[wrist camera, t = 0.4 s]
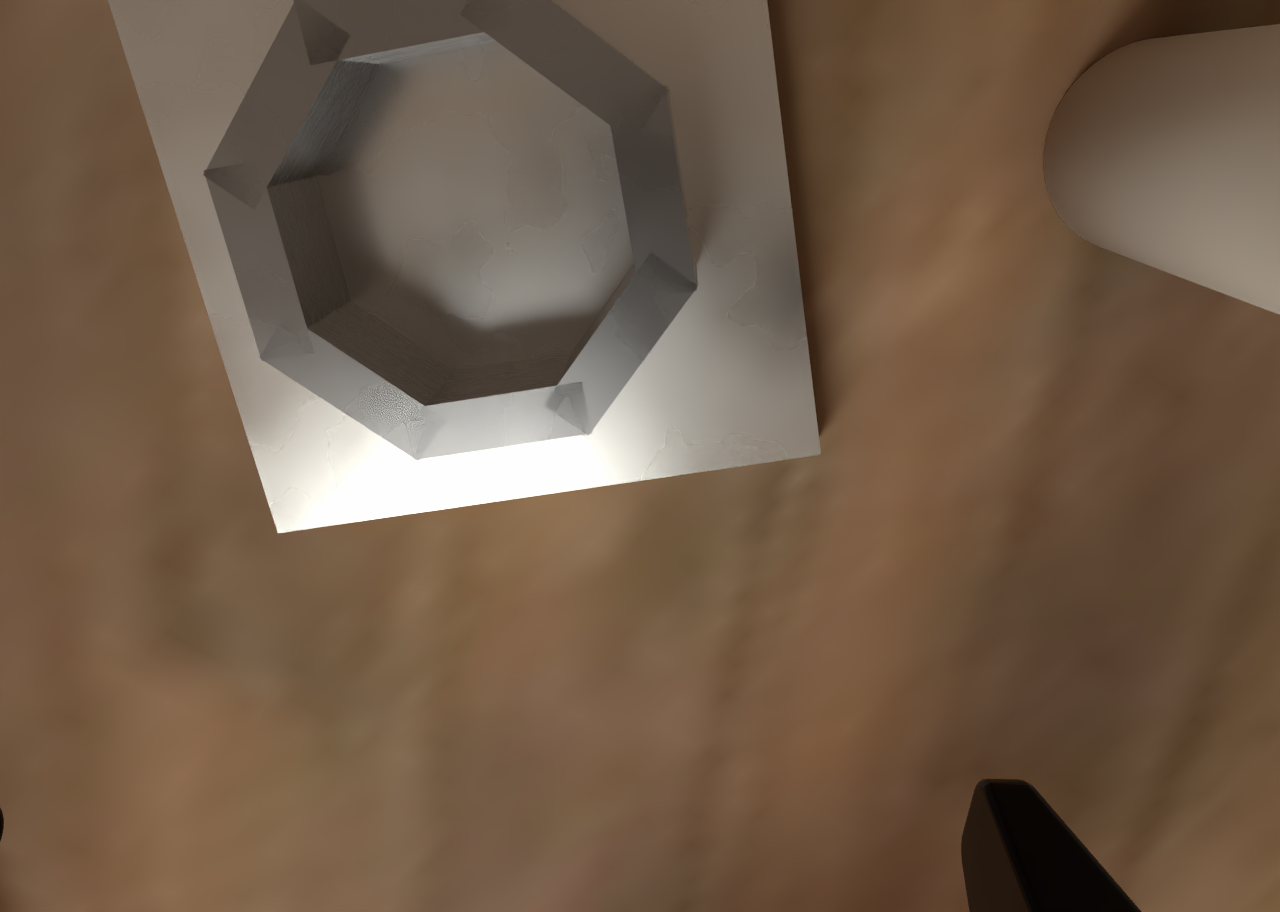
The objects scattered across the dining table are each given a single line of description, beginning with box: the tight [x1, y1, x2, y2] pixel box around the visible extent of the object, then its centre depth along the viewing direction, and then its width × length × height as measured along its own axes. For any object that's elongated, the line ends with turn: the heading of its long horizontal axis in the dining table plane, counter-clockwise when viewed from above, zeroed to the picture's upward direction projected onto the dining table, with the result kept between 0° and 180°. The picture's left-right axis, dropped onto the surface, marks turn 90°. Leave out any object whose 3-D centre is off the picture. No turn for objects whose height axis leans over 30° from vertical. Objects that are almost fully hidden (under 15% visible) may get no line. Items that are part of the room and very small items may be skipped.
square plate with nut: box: [108, 0, 821, 533], centre depth 19 cm, size 12×12×3 cm
